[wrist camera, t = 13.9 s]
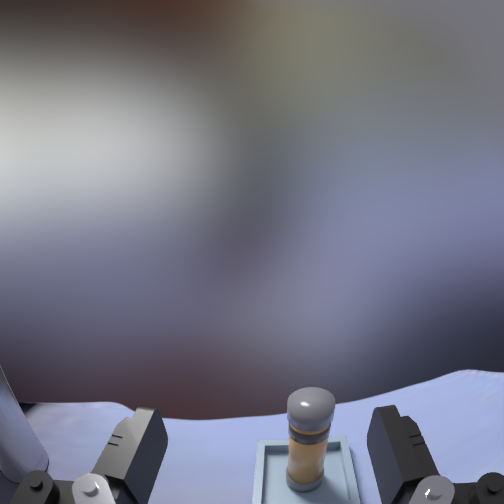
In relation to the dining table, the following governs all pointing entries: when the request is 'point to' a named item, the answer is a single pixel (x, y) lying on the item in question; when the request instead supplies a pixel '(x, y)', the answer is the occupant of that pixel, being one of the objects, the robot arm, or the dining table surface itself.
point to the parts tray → (320, 500)
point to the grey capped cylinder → (308, 437)
